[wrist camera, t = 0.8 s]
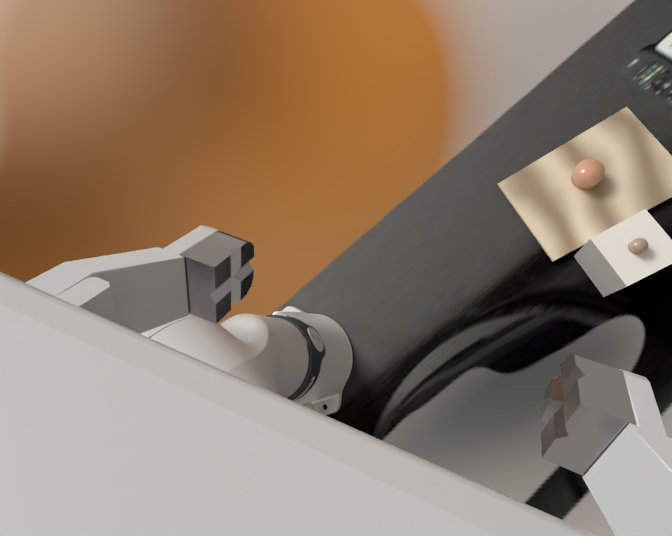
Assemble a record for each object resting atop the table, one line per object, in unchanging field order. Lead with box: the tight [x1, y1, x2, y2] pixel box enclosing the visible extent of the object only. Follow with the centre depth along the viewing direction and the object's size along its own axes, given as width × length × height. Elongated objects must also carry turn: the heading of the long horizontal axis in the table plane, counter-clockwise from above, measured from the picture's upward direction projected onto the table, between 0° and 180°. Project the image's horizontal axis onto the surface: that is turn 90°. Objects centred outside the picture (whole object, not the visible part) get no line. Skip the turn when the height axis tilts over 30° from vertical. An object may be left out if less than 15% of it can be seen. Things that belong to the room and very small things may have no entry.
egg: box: [571, 159, 605, 190], centre depth 58 cm, size 4×4×2 cm
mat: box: [498, 107, 672, 262], centre depth 59 cm, size 20×14×1 cm
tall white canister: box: [574, 209, 672, 297], centre depth 52 cm, size 7×7×11 cm
